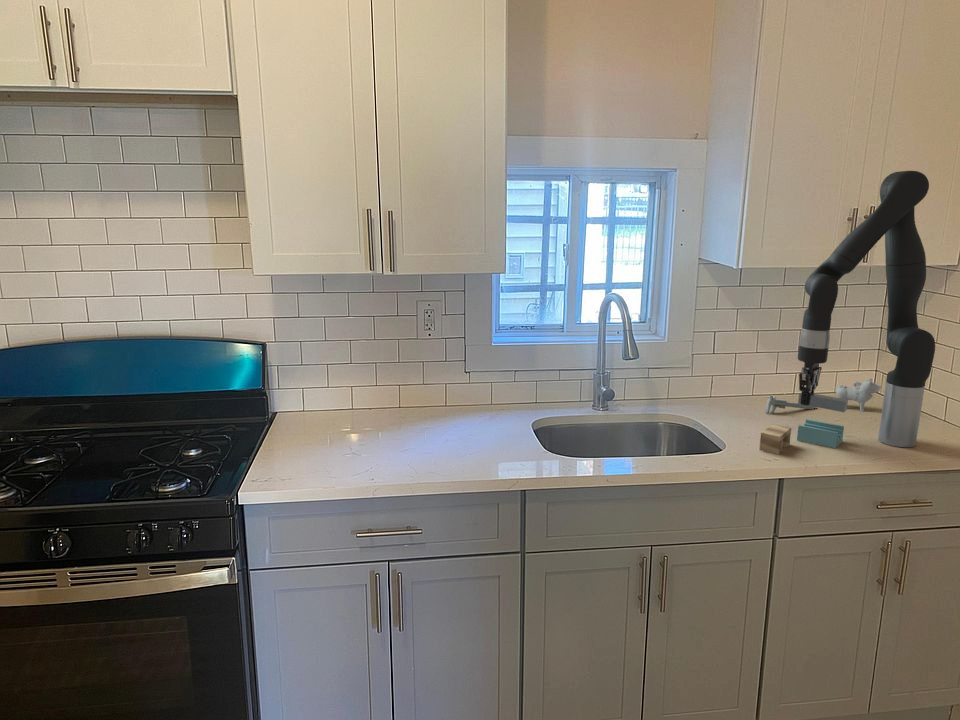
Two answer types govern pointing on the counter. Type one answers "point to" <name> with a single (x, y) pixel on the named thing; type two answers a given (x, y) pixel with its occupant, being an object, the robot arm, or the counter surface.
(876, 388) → the dog figurine
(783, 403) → the caliper
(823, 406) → the metal bar
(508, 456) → the counter surface
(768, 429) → the bore block
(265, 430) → the counter surface
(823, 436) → the block
